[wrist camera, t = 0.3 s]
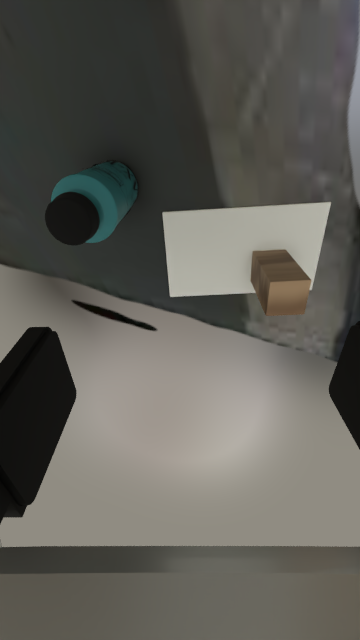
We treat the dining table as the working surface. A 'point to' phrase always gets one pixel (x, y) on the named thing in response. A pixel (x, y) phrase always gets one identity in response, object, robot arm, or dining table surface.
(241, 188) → the dining table surface
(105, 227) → the beverage bottle
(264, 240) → the white rectangular board
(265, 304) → the walnut block
